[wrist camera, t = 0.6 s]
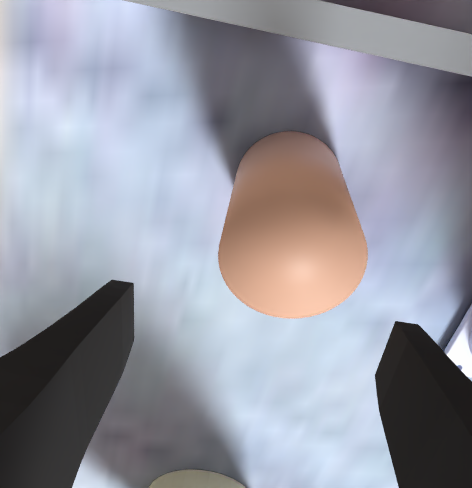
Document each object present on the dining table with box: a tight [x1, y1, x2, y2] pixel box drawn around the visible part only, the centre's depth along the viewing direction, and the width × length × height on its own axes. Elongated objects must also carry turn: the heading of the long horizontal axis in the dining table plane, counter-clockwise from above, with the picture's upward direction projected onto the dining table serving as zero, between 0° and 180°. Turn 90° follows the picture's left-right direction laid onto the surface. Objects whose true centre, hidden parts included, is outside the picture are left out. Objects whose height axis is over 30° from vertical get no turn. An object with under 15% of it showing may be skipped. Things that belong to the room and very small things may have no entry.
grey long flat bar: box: [124, 0, 472, 77], centre depth 16 cm, size 20×1×4 cm, turn 80°
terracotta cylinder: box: [218, 131, 368, 318], centre depth 18 cm, size 5×5×7 cm
